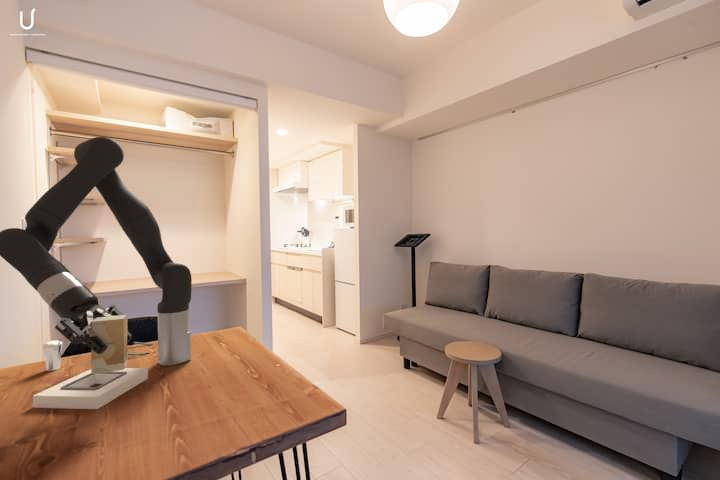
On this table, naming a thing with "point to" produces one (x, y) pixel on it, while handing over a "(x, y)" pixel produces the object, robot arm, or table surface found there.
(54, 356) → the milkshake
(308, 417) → the table surface
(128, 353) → the sunglasses
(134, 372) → the socket plate
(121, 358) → the skincare box
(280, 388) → the table surface
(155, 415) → the table surface
